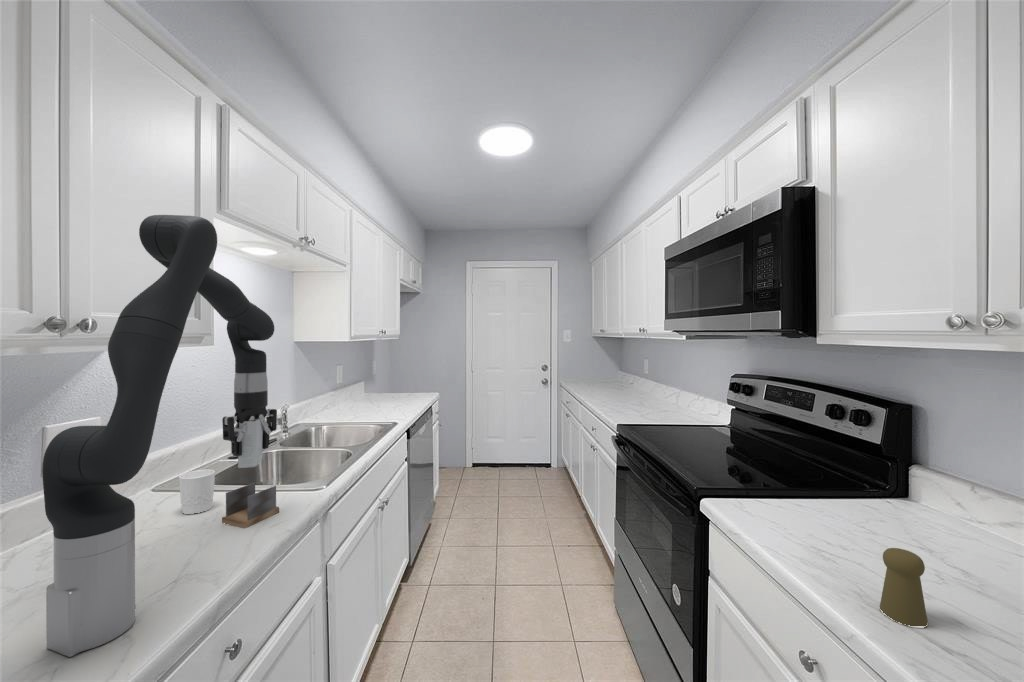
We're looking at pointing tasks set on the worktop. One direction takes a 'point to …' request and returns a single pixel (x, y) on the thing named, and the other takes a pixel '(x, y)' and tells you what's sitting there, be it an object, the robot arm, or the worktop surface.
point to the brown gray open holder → (249, 506)
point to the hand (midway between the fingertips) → (251, 451)
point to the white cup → (197, 491)
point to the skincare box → (251, 444)
